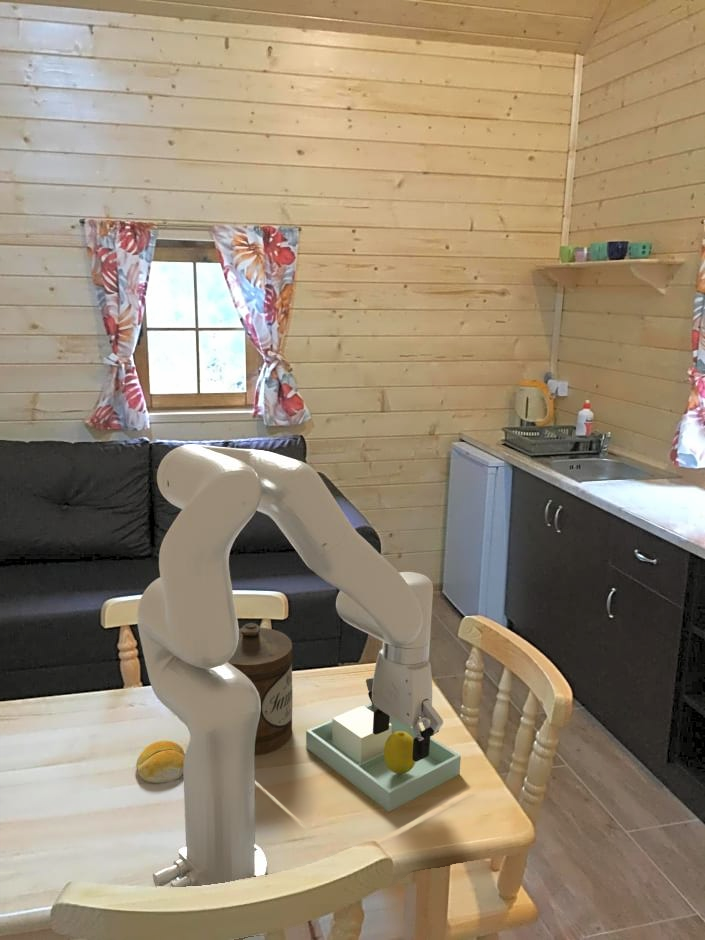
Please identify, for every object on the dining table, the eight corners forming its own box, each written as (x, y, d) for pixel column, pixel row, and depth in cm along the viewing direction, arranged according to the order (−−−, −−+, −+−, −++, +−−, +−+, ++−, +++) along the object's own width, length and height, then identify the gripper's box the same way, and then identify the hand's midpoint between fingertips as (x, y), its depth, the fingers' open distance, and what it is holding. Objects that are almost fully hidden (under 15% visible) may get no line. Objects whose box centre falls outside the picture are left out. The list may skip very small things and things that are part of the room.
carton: (360, 764, 137) (361, 738, 136) (332, 743, 143) (332, 718, 142) (391, 749, 142) (392, 724, 140) (362, 729, 148) (362, 705, 146)
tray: (388, 815, 125) (389, 792, 124) (306, 750, 142) (306, 730, 141) (459, 776, 135) (460, 755, 134) (374, 720, 152) (375, 701, 151)
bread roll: (181, 749, 142) (180, 729, 141) (191, 778, 134) (190, 757, 133) (133, 759, 139) (132, 738, 138) (140, 789, 131) (139, 767, 130)
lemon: (413, 786, 131) (415, 742, 130) (380, 781, 132) (381, 738, 131) (417, 766, 137) (419, 724, 135) (385, 762, 138) (387, 720, 136)
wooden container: (289, 760, 139) (289, 643, 134) (204, 758, 139) (200, 642, 134) (294, 714, 154) (295, 607, 148) (217, 713, 153) (215, 606, 148)
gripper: (353, 635, 133) (349, 728, 137) (426, 676, 120) (420, 777, 124) (387, 625, 138) (382, 715, 141) (461, 663, 125) (453, 761, 128)
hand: (400, 744), depth 133 cm, fingers open, 9 cm apart
